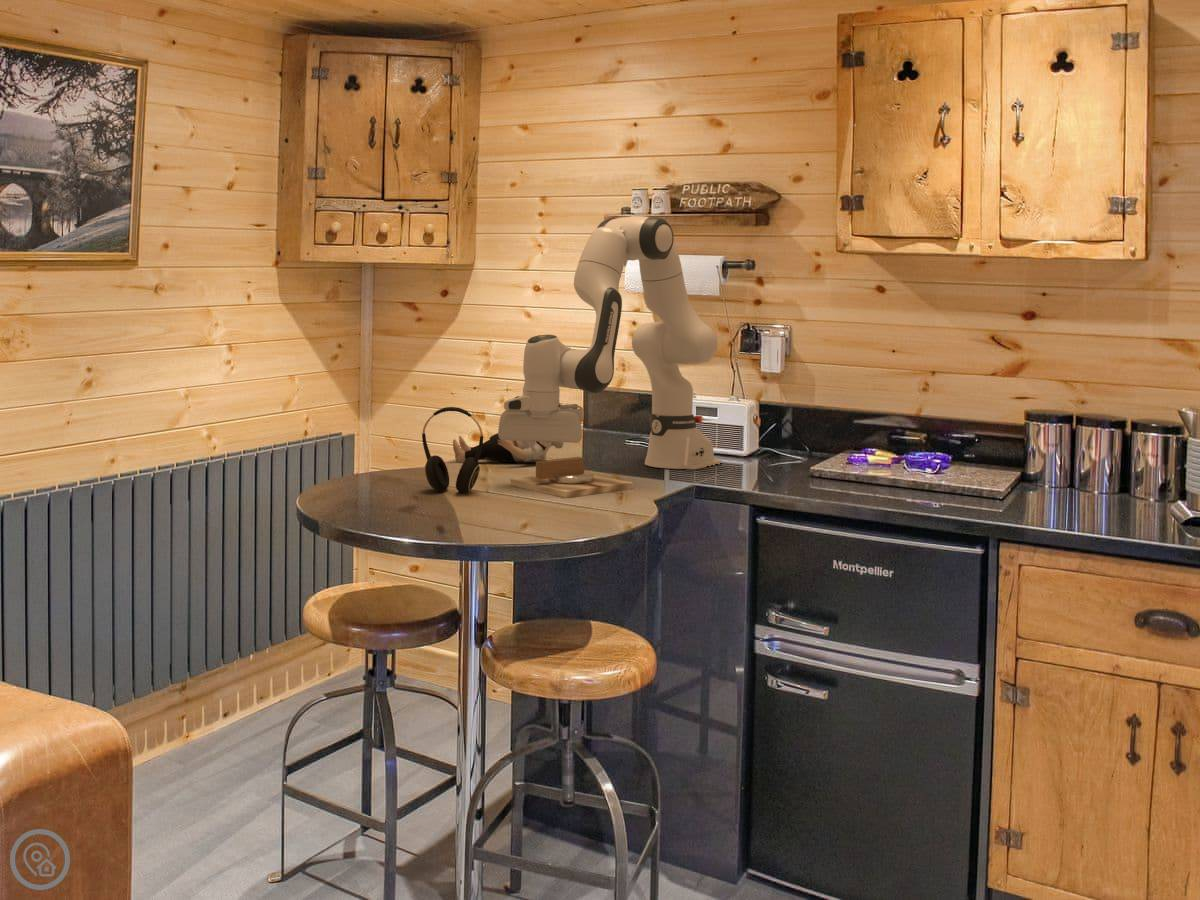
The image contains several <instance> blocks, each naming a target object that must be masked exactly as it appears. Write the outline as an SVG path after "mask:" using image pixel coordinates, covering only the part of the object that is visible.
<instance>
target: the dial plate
mask: <svg viewBox="0 0 1200 900" xmlns="http://www.w3.org/2000/svg"><path fill="white" fill-rule="evenodd" d="M509 482H510V484H509V485H510V486H514V487H516V488H517V487H518V488H522V489H526V490H530V491H534V492H539V493H542V494H545V495H546V494H547V495H551V496H554V497H560V498H565V499H568V498H576V497H582V496H588V495H589V496H590V495H597V494H598V495H599V494H605V493H610V492H612V493H613V492H618V491H625V490H626V491H627V490H632V489H633V482H630V481H626V480H622V479H616V478H612V477H607V476H602V475H597V474H594V481H592V482H588V483H558V482H552V481H550V480H549V479H538V478H536V475H533V476H526V477H525V476H524V477H516V478H515V477H514V478H510V480H509Z"/></svg>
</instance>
